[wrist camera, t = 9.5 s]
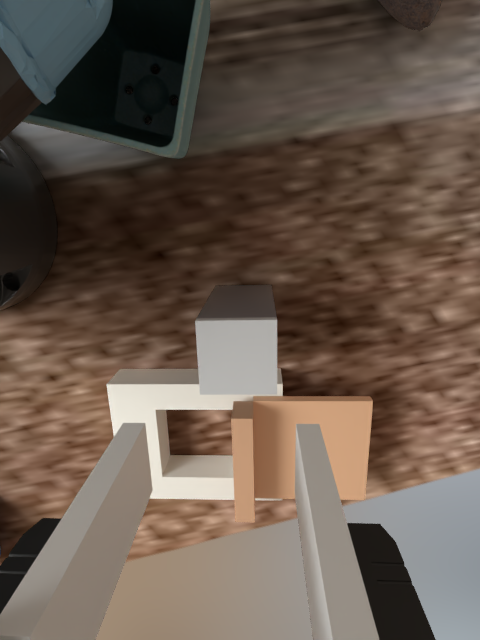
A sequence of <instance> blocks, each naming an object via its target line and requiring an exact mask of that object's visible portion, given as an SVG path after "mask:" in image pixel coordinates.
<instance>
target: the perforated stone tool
mask: <svg viewBox="0 0 480 640" xmlns="http://www.w3.org/2000/svg"><path fill="white" fill-rule="evenodd" d="M378 1H379V2H380V3H381V5H382V6H383V7H384V8H385V9H386V10H387V11H388V12H389V13H390V14H391V15H392V16H393V17H394V18H395V19H396V20H397V21H399V22H400V23H401V24H403V25H404V26H405V27H407V28H410V29H414V30H418V31H420V30H422V29H423V28H425V27H428V26H429V25H430V24H431V23H432V21H433V19H434V17H435V15H436V13H437V11H438V9H439V7H440V5H441V2H442V0H378Z"/></svg>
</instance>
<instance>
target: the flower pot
mask: <svg viewBox="0 0 480 640" xmlns="http://www.w3.org/2000/svg"><path fill="white" fill-rule="evenodd" d="M209 29H210V0H113V6H112V12H111V17H110V20H109V23H108V25H107V27H106V29H105V31H104V32H103V34H102V36H101V37H100V38H99V39H98V40H97V41H96V42H95V43H94V45H93V46H92V47H91V48H90V49H89V50H88V52H87V53H86V54H85V55H84V56H83V57H82V58H81V60H80V61H79V62H78V63H77V64H76V65H75V66H74V68H73V69H72V70H71V71H70V72H69V73H68V74H67V76H66V77H65V78H64V79H63V80H62V81H61V82H60V84H59V85H58V86H57V87H56V96H55V97H54V98H53V99H52V100H51V101H50V102H49V103H47V104H44V103H41V104H40V105H39V106H38V107H36V108H35V109H34V110H33V111H32V112H31V113H30V114H29V115H28V116H27V117H26V118H25V119H24V120H23V121H22V122H26V123H31V124H35V125H40V126H45V127H49V128H53V129H57V130H62V131H66V132H70V133H75V134H79V135H83V136H87V137H91V138H95V139H99V140H103V141H107V142H111V143H115V144H119V145H123V146H126V147H130V148H134V149H138V150H141V151H145V152H148V153H152V154H156V155H159V156H163V157H168V158H176V159H180V158H183V157H184V156H185V155H186V154H187V151H188V147H189V142H190V136H191V130H192V124H193V119H194V113H195V107H196V101H197V95H198V90H199V84H200V79H201V73H202V67H203V62H204V56H205V51H206V46H207V41H208V35H209ZM155 66H156V67H158V68H159V73H158V74H153V73H152V68H153V67H155ZM128 86H131V87H132V88H133V92H132V94H127V92H126V88H127V87H128ZM174 97H175V98H177V100H178V103H177V105H175V106H174V105H172V104H171V99H172V98H174ZM147 116H149V117H151V119H152V122H151V124H146V123H145V118H146V117H147Z"/></svg>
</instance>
